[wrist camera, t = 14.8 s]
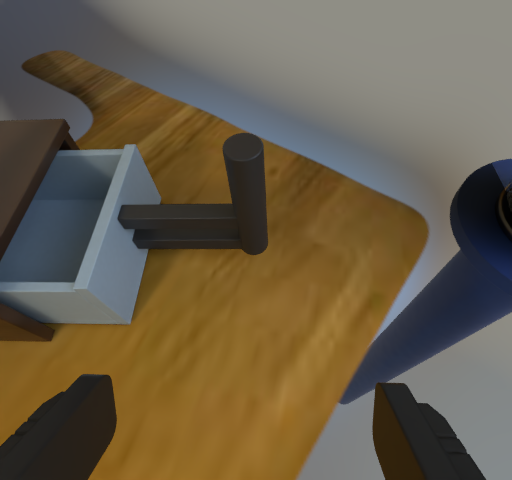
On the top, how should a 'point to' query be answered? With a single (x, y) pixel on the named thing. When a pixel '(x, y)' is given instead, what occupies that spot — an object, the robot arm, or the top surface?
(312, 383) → the top surface
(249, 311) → the top surface
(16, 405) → the top surface
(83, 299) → the drawer
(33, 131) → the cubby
